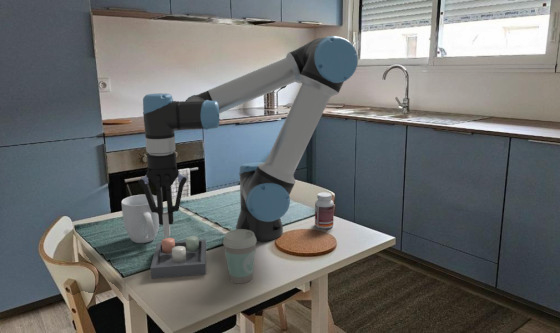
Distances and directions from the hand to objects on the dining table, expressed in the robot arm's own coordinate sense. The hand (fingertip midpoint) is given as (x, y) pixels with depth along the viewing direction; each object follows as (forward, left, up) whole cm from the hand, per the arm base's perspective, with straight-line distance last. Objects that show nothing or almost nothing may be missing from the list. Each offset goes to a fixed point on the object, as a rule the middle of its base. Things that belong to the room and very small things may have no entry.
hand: (167, 234), depth 125 cm
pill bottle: (-49, -17, -8) cm, 53 cm away
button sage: (-7, 0, -5) cm, 8 cm away
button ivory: (-3, +6, -5) cm, 9 cm away
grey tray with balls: (-3, +3, -7) cm, 9 cm away
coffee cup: (-19, +14, -8) cm, 25 cm away
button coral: (0, 0, -5) cm, 5 cm away
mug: (+9, -15, -8) cm, 18 cm away
